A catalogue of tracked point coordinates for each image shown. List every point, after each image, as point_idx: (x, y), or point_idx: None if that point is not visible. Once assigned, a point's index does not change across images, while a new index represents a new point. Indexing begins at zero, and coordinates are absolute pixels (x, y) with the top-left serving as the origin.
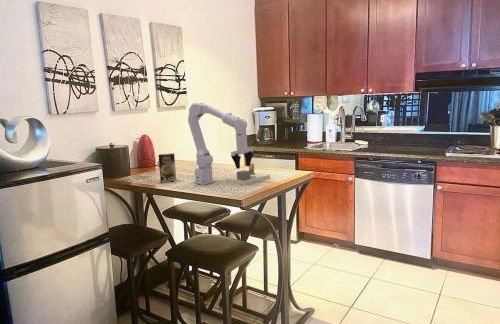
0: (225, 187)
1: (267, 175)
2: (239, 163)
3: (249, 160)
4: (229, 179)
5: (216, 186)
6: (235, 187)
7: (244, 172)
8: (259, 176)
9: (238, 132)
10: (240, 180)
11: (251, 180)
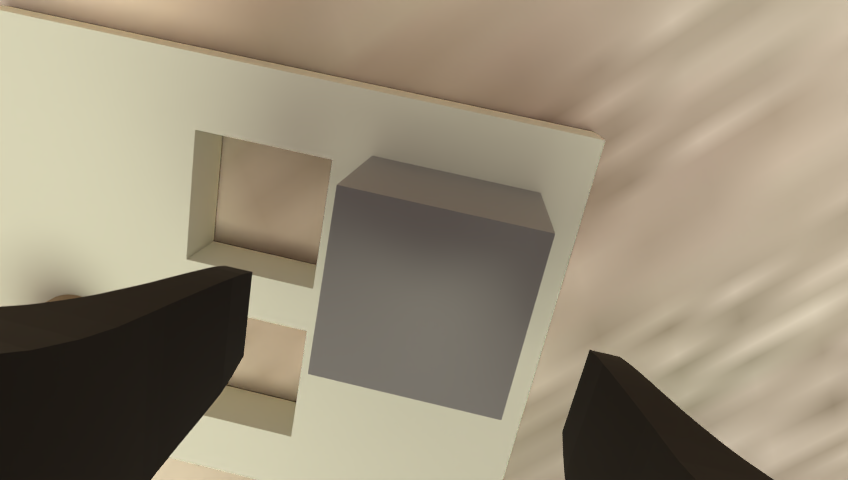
0: (822, 323)
1: (18, 13)
2: (664, 414)
3: (156, 326)
4: (506, 462)
5: (782, 473)
6: (793, 174)
7: (515, 225)
8: (155, 107)
9: None
10: (558, 245)
11: (427, 99)
